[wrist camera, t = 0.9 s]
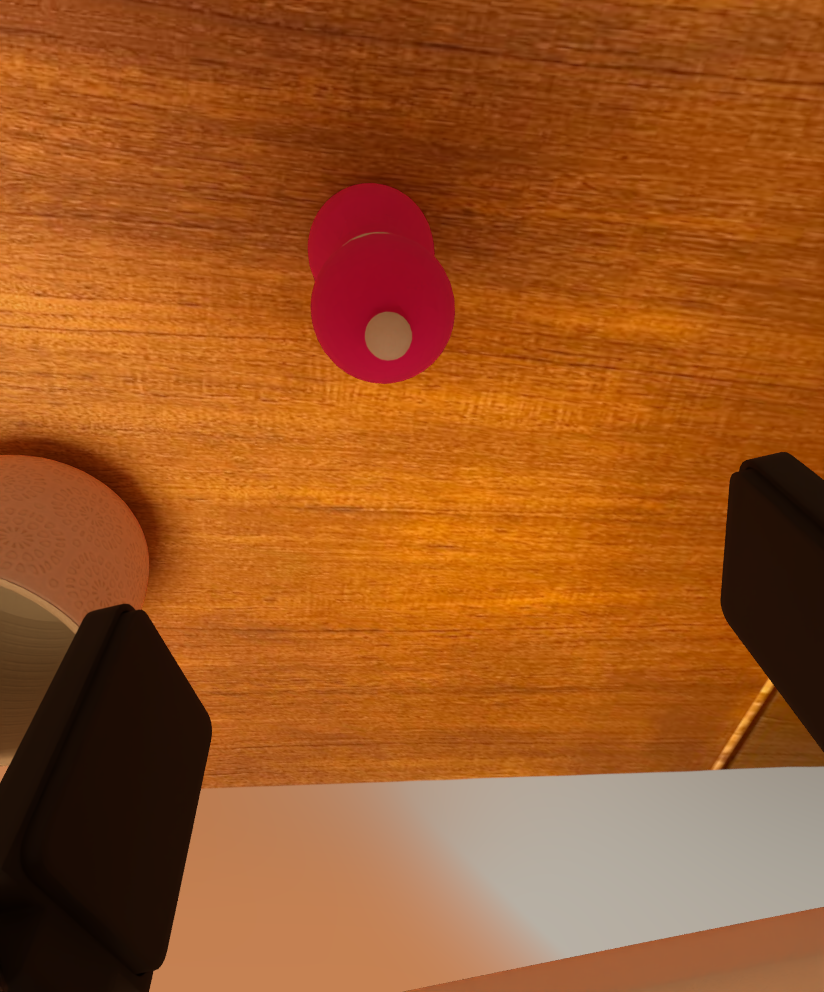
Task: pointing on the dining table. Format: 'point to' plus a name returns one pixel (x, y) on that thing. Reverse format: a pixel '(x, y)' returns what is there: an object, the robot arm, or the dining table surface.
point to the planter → (56, 575)
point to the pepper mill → (378, 285)
